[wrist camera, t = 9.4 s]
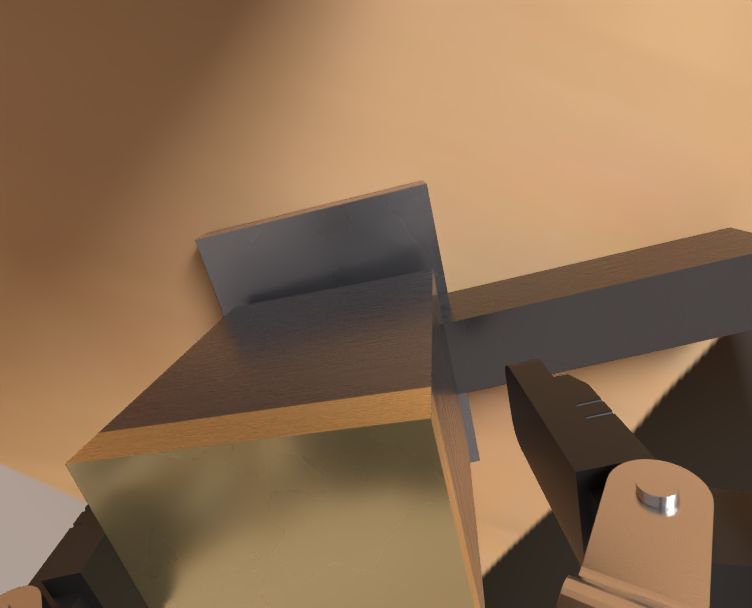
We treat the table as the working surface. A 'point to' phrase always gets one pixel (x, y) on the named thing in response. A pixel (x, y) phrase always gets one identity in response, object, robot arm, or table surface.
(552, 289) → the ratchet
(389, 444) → the khaki matte cube
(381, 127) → the table surface
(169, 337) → the table surface
